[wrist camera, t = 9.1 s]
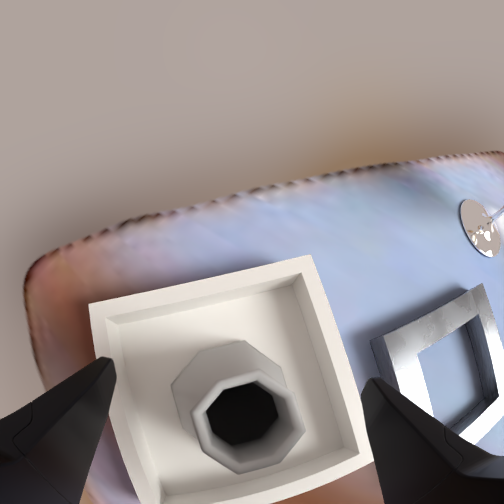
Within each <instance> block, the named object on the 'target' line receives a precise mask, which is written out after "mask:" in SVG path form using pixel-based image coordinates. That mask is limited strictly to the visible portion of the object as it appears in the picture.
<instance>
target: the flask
mask: <svg viewBox="0 0 504 504" xmlns="http://www.w3.org/2000/svg"><path fill="white" fill-rule="evenodd" d="M170 386H171V390H172V393H173V397H174V401H175V404H176V408H177V411H178V415H179V418H180V421H181V425H182V428H183V429H184V430H186V431H187V432H188V433H190V434H191V435H192V436H194V437H195V438H196V439H198V441H199V444H200V447H201V450H202V452H203V453H205V454H206V455H208V456H209V457H211V458H212V459H214V460H215V461H217V462H218V463H220V464H221V465H223V466H224V467H226V468H227V469H229V470H231V471H232V472H234V473H236V474H237V475H240V474H244V473H248V472H251V471H255V470H259V469H262V468H266V467H269V466H273V465H276V464H279V463H281V462H282V460H283V459H284V458H285V457H286V456H287V454H288V453H289V452H290V451H291V449H292V448H293V447H294V446H295V444H296V443H297V442H298V441H299V439H300V438H301V437H302V435H303V434H304V433H305V432H306V429H305V426H304V422H303V419H302V416H301V413H300V409H299V406H298V403H297V399H296V396H295V393H294V392H292V391H291V390H289V389H288V388H287V385H286V382H285V379H284V375H283V372H282V369H281V367H280V366H279V365H277V364H276V363H275V362H273V361H272V360H270V359H269V358H268V357H266V356H265V355H264V354H262V353H261V352H260V351H258V350H257V349H256V348H254V347H253V346H252V345H250V344H249V343H248V342H246V341H245V340H242V341H239V342H235V343H230V344H226V345H222V346H218V347H214V348H209V349H205V350H201V351H199V352H198V353H197V354H196V355H195V356H194V358H193V359H192V360H191V361H190V362H189V363H188V365H187V366H186V367H185V368H184V369H183V371H182V372H181V373H180V374H179V375H178V376H177V377H176V379H175V380H174V381H173V382H172V383H171V384H170Z"/></svg>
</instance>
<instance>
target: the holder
mask: <svg viewBox="0 0 504 504" xmlns="http://www.w3.org/2000/svg"><path fill="white" fill-rule="evenodd" d="M465 323H466V326H467V329H468V333H469V336H470V339H471V343H472V346H473V350H474V354H475V358H476V361H477V365H478V370H479V374H480V378H481V383H482V388H483V393H484V399H483V400H482V401H481V402H480V403H479V404H478V405H477V406H476V407H475V408H474V409H473V410H472V411H470V412H469V413H468V414H467V415H466V416H465V417H464V418H462V419H461V420H460V421H459V422H458V423H457V424H455V425H454V426H453V427H452V428H450V430H452V431H453V432H455V433H456V434H458V435H459V436H461V437H462V438H464V439H465V440H467V441H469V442H470V443H472V444H474V445H475V444H476V443H477V442H478V441H479V440H480V439H481V438H482V437H483V436H484V435H485V434H486V433H487V432H488V431H489V430H490V429H491V428H492V427H493V426H494V425H495V424H496V422H497V421H498V420H499V419H500V418H501V417H502V416H503V415H504V352H503V348H502V344H501V340H500V336H499V333H498V329H497V326H496V322H495V319H494V316H493V312H492V309H491V306H490V303H489V300H488V298H487V295H486V292H485V289H484V286H483V284H482V283H481V284H480V285H478V286H476V287H474V288H472V289H470V290H468V291H467V292H465V293H463V294H461V295H460V296H458V297H456V298H455V299H453V300H451V301H449V302H447V303H446V304H444V305H442V306H440V307H438V308H436V309H435V310H433V311H431V312H429V313H427V314H425V315H423V316H421V317H419V318H417V319H415V320H413V321H411V322H409V323H407V324H405V325H403V326H401V327H399V328H397V329H395V330H392V331H390V332H388V333H386V334H384V335H381V336H379V337H377V338H375V339H372V340H370V344H371V347H372V350H373V353H374V356H375V359H376V362H377V365H378V369H379V372H380V375H381V378H382V379H383V380H384V381H386V382H387V383H388V384H390V385H391V386H392V387H394V388H395V389H396V390H398V391H399V392H400V393H402V394H403V395H404V396H406V397H407V398H408V399H410V400H411V401H412V402H414V403H415V404H416V405H418V406H419V407H420V408H422V409H423V410H424V411H426V412H427V413H428V414H430V415H431V416H433V413H432V408H431V404H430V400H429V396H428V392H427V388H426V385H425V381H424V377H423V374H422V370H421V367H420V363H419V360H418V357H417V353H419V352H421V351H422V350H424V349H426V348H427V347H429V346H431V345H432V344H434V343H436V342H437V341H439V340H440V339H442V338H444V337H445V336H447V335H448V334H450V333H451V332H453V331H454V330H456V329H457V328H459V327H460V326H462V325H463V324H465Z"/></svg>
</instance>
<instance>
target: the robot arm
mask: <svg viewBox="0 0 504 504" xmlns="http://www.w3.org/2000/svg"><path fill="white" fill-rule="evenodd" d="M116 380H117V374H116V370H115V365H114V361H113V359H112V358H109V357H104V356H101V357H99V358H98V359H96V360H95V361H93V362H92V363H90V364H89V365H87V366H86V367H84V368H83V369H81V370H79V371H78V372H76V373H75V374H73V375H72V376H70V377H69V378H67V379H66V380H64V381H63V382H61V383H59V384H58V385H56V386H55V387H53V388H52V389H50V390H49V391H47V392H46V393H44V394H42V395H41V396H40V397H38V398H36V399H35V400H33V401H32V402H30V403H28V404H27V405H25V406H24V407H22V408H21V409H19V410H17V411H16V412H14V413H12V414H10V415H8V416H6V417H4V418H2V419H0V504H79V502H80V498H81V495H82V492H83V489H84V485H85V482H86V479H87V476H88V472H89V469H90V466H91V463H92V460H93V457H94V454H95V451H96V448H97V445H98V442H99V439H100V436H101V434H102V431H103V428H104V425H105V423H106V420H107V417H108V413H109V409H110V405H111V401H112V397H113V392H114V389H115V385H116ZM361 402H362V408H363V414H364V420H365V426H366V432H367V436H368V440H369V443H370V447H371V451H372V454H373V458H374V462H375V466H376V470H377V474H378V478H379V482H380V486H381V490H382V495H383V499H384V503H385V504H504V456H496V455H492V454H490V453H488V452H486V451H485V450H483V449H481V448H479V447H477V446H476V445H474V444H472V443H470V442H469V441H467V440H465V439H464V438H462V437H461V436H459V435H458V434H456V433H455V432H453V431H452V430H450V429H449V428H448V427H446V426H444V425H443V424H442V423H441V422H439V421H438V420H437V419H435V418H434V417H433V416H431V415H430V414H428V413H427V412H426V411H424V410H423V409H422V408H420V407H419V406H418V405H416V404H415V403H414V402H412V401H411V400H410V399H408V398H407V397H406V396H404V395H403V394H402V393H400V392H399V391H398V390H396V389H395V388H394V387H392V386H391V385H390V384H388V383H387V382H386V381H384V380H383V379H382V378H380V377H372V378H369V379H368V381H367V383H366V385H365V387H364V389H363V391H362V393H361Z"/></svg>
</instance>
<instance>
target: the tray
mask: <svg viewBox="0 0 504 504" xmlns="http://www.w3.org/2000/svg"><path fill="white" fill-rule="evenodd" d="M89 313H90V322H91V329H92V336H93V342H94V349H95V354H96V359H98V358H99V357H101V356H104V357H109V358H112V359H113V361H114V365H115V370H116V374H117V380H116V385H115V389H114V392H113V397H112V401H111V405H110V409H109V416H110V420H111V423H112V427H113V430H114V433H115V437H116V440H117V443H118V446H119V449H120V452H121V455H122V458H123V461H124V463H125V466H126V469H127V471H128V474H129V477H130V479H131V482H132V484H133V486H134V489H135V491H136V494H137V496H138V498H139V500H140V503H141V504H270V503H274V502H277V501H280V500H283V499H286V498H289V497H292V496H295V495H298V494H301V493H304V492H306V491H309V490H312V489H314V488H317V487H319V486H322V485H324V484H327V483H329V482H331V481H334V480H336V479H338V478H340V477H343V476H345V475H347V474H349V473H351V472H353V471H355V470H357V469H359V468H361V467H363V466H365V465H367V464H369V463H371V462H373V461H374V458H373V454H372V451H371V447H370V443H369V440H368V436H367V432H366V426H365V420H364V414H363V408H362V403H361V400H360V396H359V393H358V390H357V386H356V383H355V380H354V377H353V373H352V370H351V367H350V364H349V361H348V358H347V355H346V352H345V349H344V346H343V343H342V340H341V337H340V334H339V331H338V328H337V325H336V322H335V319H334V316H333V314H332V311H331V308H330V305H329V302H328V299H327V297H326V294H325V291H324V288H323V286H322V283H321V280H320V278H319V275H318V272H317V270H316V267H315V264H314V262H313V259H312V256H311V254H310V255H305V256H301V257H297V258H293V259H289V260H284V261H280V262H276V263H272V264H267V265H263V266H259V267H255V268H250V269H246V270H242V271H237V272H233V273H228V274H224V275H220V276H215V277H211V278H206V279H202V280H197V281H193V282H188V283H184V284H179V285H175V286H170V287H166V288H161V289H157V290H152V291H147V292H143V293H138V294H133V295H129V296H124V297H119V298H115V299H110V300H105V301H100V302H95V303H91V304H89ZM242 340H245V341H246V342H248V343H249V344H250V345H252V346H253V347H254V348H256V349H257V350H258V351H260V352H261V353H262V354H264V355H265V356H266V357H268V358H269V359H270V360H272V361H273V362H275V363H276V364H277V365H279V366H280V367H281V369H282V372H283V375H284V379H285V382H286V385H287V388H288V389H289V390H291V391H292V392H294V393H295V396H296V399H297V403H298V406H299V409H300V413H301V416H302V419H303V422H304V426H305V429H306V432H305V433H304V434H303V435H302V437H301V438H300V439H299V441H298V442H297V443H296V444H295V446H294V447H293V448H292V449H291V451H290V452H289V453H288V454H287V456H286V457H285V458H284V459H283V460H282V462H281V463H279V464H276V465H273V466H269V467H266V468H262V469H259V470H255V471H251V472H248V473H244V474H240V475H237V474H236V473H234V472H232V471H231V470H229V469H227V468H226V467H224V466H223V465H221V464H220V463H218V462H217V461H215V460H214V459H212V458H211V457H209V456H208V455H206V454H205V453H203V452H202V450H201V447H200V444H199V441H198V439H196V438H195V437H194V436H192V435H191V434H190V433H188V432H187V431H186V430H184V429H183V428H182V425H181V421H180V418H179V415H178V411H177V408H176V404H175V401H174V397H173V393H172V390H171V386H170V384H171V383H172V382H173V381H174V380H175V379H176V377H177V376H178V375H179V374H180V373H181V372H182V371H183V369H184V368H185V367H186V366H187V365H188V363H189V362H190V361H191V360H192V359H193V358H194V356H195V355H196V354H197V353H198V352H199V351H201V350H205V349H209V348H214V347H218V346H222V345H226V344H230V343H235V342H239V341H242Z"/></svg>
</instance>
